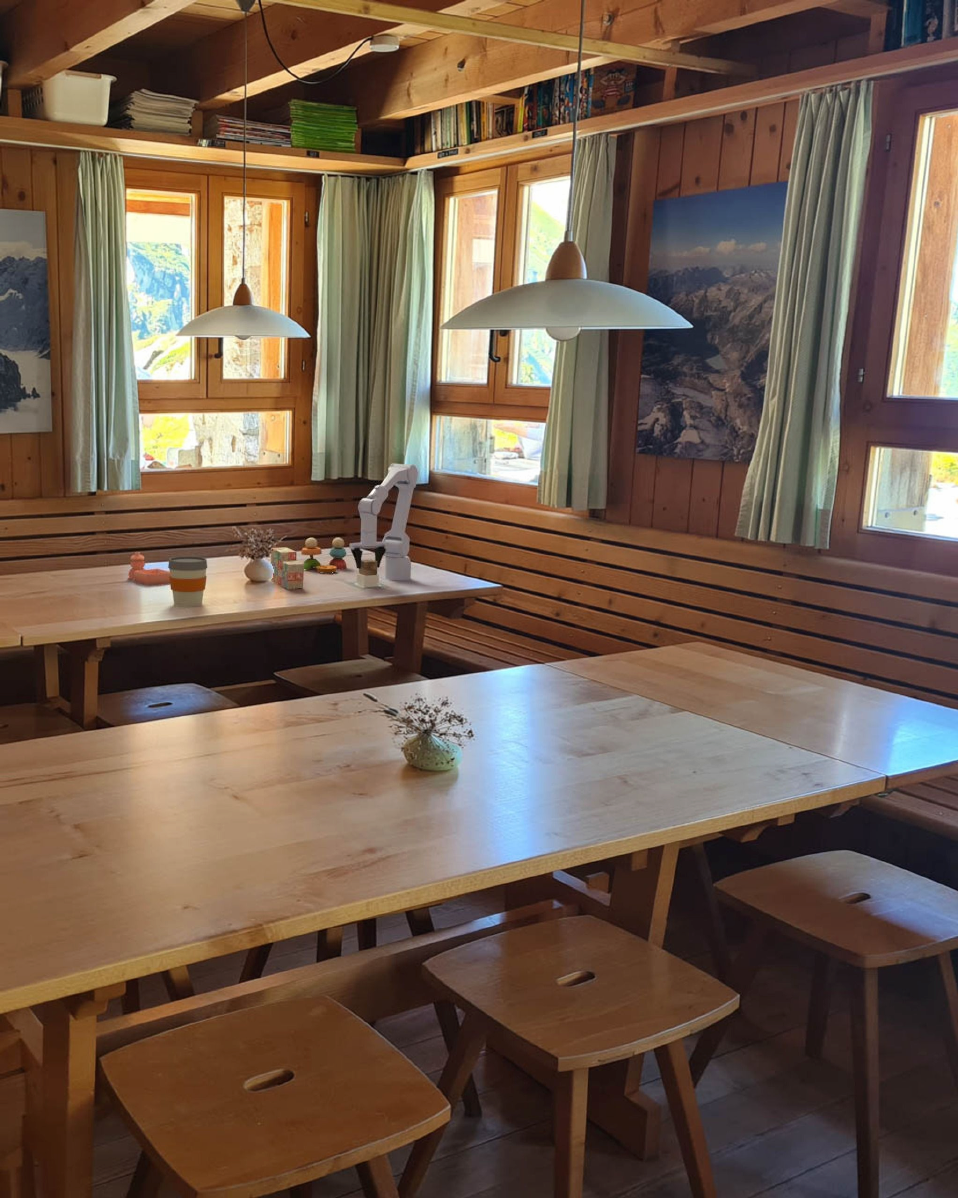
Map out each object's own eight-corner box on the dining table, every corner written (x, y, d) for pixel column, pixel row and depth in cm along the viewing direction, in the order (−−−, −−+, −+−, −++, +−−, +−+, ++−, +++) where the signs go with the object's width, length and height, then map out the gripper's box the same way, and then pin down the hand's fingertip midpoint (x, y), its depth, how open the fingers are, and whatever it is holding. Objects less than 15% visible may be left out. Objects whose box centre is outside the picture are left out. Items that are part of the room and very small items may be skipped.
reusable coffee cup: (212, 606, 389) (212, 561, 386) (174, 608, 383) (174, 563, 380) (201, 599, 400) (200, 555, 397) (164, 601, 394) (163, 557, 391)
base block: (371, 583, 440) (371, 572, 440) (378, 585, 436) (378, 575, 435) (356, 583, 437) (356, 573, 437) (364, 586, 432) (364, 575, 432)
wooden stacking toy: (320, 574, 456) (320, 542, 454) (297, 568, 469) (297, 537, 467) (359, 571, 468) (360, 540, 465) (335, 565, 481) (336, 534, 478)
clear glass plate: (373, 581, 445) (373, 580, 445) (390, 588, 434) (390, 586, 434) (344, 583, 439) (344, 582, 439) (361, 590, 428) (361, 589, 427)
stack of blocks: (303, 589, 426) (304, 555, 423) (286, 590, 423) (287, 556, 421) (286, 579, 445) (287, 546, 442) (270, 579, 442) (270, 547, 440)
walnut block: (371, 572, 439) (371, 559, 438) (377, 574, 435) (377, 561, 434) (358, 573, 437) (359, 560, 436) (364, 575, 432) (365, 562, 431)
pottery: (171, 583, 427) (171, 556, 425) (148, 586, 420) (147, 558, 418) (144, 576, 439) (144, 550, 437) (121, 578, 432) (121, 552, 430)
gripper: (381, 528, 440) (380, 564, 442) (346, 530, 432) (345, 567, 435) (390, 531, 434) (389, 567, 437) (354, 532, 426) (353, 570, 429)
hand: (368, 567), depth 435 cm, fingers open, 7 cm apart
